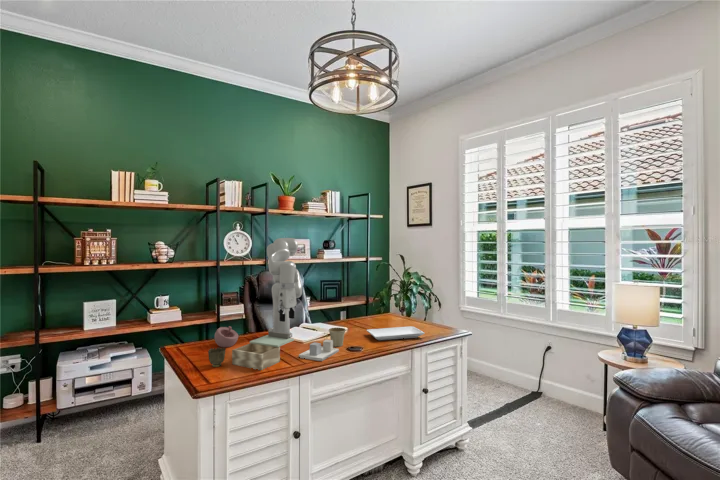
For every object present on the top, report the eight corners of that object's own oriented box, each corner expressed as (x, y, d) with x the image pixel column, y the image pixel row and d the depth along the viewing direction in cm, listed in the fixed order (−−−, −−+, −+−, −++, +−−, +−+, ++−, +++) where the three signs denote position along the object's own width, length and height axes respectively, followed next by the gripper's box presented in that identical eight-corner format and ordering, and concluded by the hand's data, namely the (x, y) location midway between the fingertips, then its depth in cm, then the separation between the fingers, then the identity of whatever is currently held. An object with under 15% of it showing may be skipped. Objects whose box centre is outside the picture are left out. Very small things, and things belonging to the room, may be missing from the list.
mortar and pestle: (230, 351, 191) (230, 329, 191) (209, 350, 193) (209, 328, 193) (242, 344, 202) (242, 323, 202) (222, 343, 205) (222, 323, 205)
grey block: (309, 354, 182) (309, 344, 182) (314, 352, 185) (313, 342, 185) (316, 355, 180) (316, 345, 180) (320, 353, 184) (320, 343, 184)
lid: (249, 343, 180) (249, 336, 180) (266, 336, 191) (266, 330, 191) (277, 347, 173) (277, 340, 173) (294, 340, 184) (294, 333, 184)
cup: (211, 364, 170) (211, 347, 170) (227, 364, 171) (227, 346, 171) (205, 370, 163) (205, 352, 163) (222, 369, 163) (222, 351, 163)
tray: (425, 338, 217) (425, 332, 217) (374, 342, 208) (374, 336, 208) (413, 331, 234) (413, 326, 234) (365, 335, 225) (365, 329, 225)
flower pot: (343, 348, 196) (343, 332, 196) (326, 347, 198) (326, 331, 198) (347, 343, 205) (347, 327, 205) (331, 342, 207) (331, 327, 207)
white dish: (298, 357, 180) (298, 354, 180) (317, 348, 196) (317, 345, 196) (321, 361, 175) (321, 358, 175) (338, 351, 190) (338, 348, 190)
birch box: (232, 365, 169) (232, 349, 169) (251, 357, 181) (251, 342, 181) (261, 370, 162) (261, 354, 162) (279, 361, 174) (279, 346, 174)
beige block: (323, 351, 187) (323, 341, 187) (325, 349, 191) (325, 339, 191) (330, 352, 186) (330, 342, 186) (333, 349, 190) (333, 340, 190)
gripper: (282, 288, 184) (282, 324, 184) (302, 284, 200) (302, 317, 200) (270, 287, 187) (270, 322, 187) (290, 283, 203) (290, 316, 203)
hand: (287, 319), depth 193 cm, fingers open, 7 cm apart
